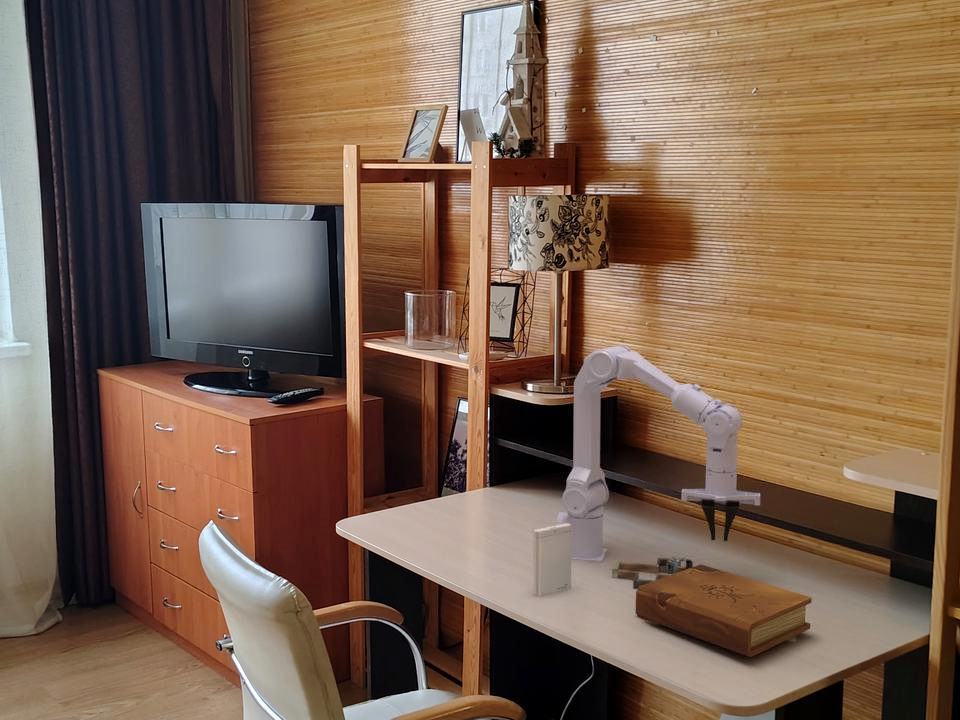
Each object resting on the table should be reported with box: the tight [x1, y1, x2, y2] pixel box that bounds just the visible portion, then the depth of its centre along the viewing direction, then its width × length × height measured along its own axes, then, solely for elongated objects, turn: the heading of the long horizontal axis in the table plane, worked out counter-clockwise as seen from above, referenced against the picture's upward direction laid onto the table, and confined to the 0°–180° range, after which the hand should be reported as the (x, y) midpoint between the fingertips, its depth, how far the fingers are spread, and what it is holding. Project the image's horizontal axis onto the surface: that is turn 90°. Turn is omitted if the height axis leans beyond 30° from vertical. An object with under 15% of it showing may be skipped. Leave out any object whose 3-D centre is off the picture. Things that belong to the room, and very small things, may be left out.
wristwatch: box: [666, 556, 694, 574], centre depth 204 cm, size 3×5×5 cm, turn 111°
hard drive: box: [533, 523, 572, 598], centre depth 196 cm, size 2×8×12 cm, turn 125°
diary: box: [635, 563, 813, 658], centre depth 182 cm, size 23×19×6 cm
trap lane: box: [611, 557, 686, 589], centre depth 205 cm, size 18×15×2 cm
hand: (719, 539), depth 202 cm, fingers closed
